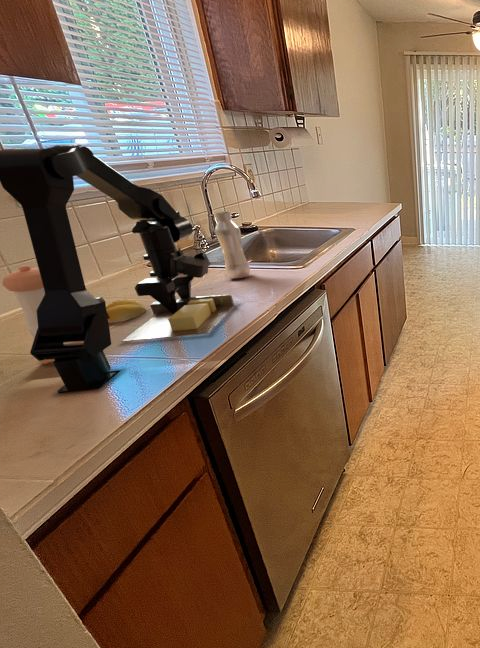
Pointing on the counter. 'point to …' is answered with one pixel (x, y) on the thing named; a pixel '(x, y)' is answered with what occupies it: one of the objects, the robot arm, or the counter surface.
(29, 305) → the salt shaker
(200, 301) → the butter slice
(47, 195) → the robot arm
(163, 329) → the board
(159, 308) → the knife
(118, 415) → the counter surface
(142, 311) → the bread roll
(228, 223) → the plastic bottle
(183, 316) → the butter stick
